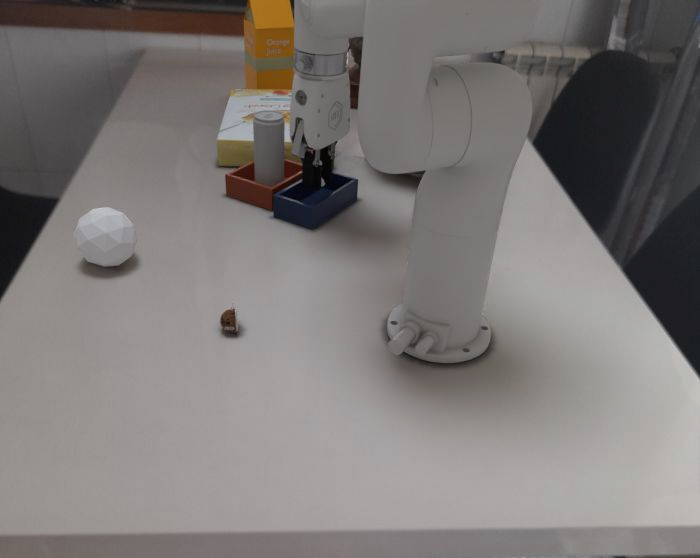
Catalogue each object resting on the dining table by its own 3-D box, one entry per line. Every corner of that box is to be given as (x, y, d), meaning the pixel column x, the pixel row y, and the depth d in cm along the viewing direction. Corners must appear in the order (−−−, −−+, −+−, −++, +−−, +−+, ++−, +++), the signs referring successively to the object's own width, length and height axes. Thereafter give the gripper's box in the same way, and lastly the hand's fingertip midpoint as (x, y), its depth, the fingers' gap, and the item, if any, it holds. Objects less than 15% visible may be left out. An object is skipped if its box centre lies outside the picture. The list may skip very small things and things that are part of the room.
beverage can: (249, 189, 117) (246, 116, 109) (265, 179, 120) (264, 107, 113) (274, 196, 115) (273, 122, 108) (290, 186, 118) (290, 114, 111)
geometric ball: (127, 274, 100) (158, 231, 97) (93, 283, 92) (126, 236, 90) (87, 237, 100) (117, 193, 97) (51, 243, 93) (82, 195, 90)
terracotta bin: (272, 210, 112) (272, 189, 110) (226, 195, 116) (224, 174, 114) (312, 187, 120) (312, 166, 118) (267, 173, 124) (267, 153, 121)
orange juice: (245, 89, 160) (242, -10, 148) (282, 86, 163) (282, -11, 151) (256, 100, 154) (254, -2, 143) (295, 96, 158) (296, -3, 146)
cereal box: (330, 88, 145) (335, 139, 122) (329, 116, 148) (334, 170, 126) (229, 86, 144) (215, 137, 121) (231, 114, 147) (217, 168, 125)
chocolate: (222, 322, 87) (220, 294, 85) (240, 322, 87) (239, 294, 85) (218, 336, 85) (217, 308, 82) (237, 336, 85) (236, 308, 83)
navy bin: (312, 229, 108) (312, 207, 106) (273, 216, 111) (273, 195, 108) (357, 199, 117) (358, 179, 115) (320, 188, 120) (320, 167, 118)
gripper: (311, 80, 93) (308, 209, 105) (372, 55, 105) (363, 174, 116) (264, 68, 96) (266, 195, 107) (328, 45, 108) (324, 162, 119)
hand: (316, 183), depth 111 cm, fingers closed
